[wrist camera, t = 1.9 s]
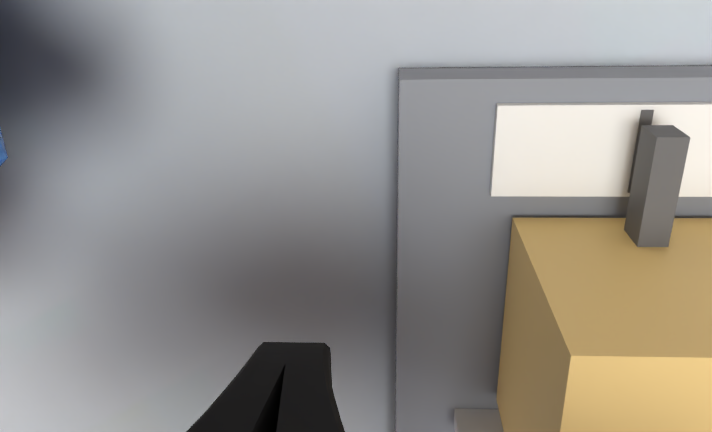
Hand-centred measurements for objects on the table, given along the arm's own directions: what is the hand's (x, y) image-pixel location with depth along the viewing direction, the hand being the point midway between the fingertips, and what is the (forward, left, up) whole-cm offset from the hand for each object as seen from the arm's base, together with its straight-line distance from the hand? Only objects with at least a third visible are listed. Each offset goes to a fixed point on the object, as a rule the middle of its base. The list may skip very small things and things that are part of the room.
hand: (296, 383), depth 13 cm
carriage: (+1, -7, -3) cm, 8 cm away
